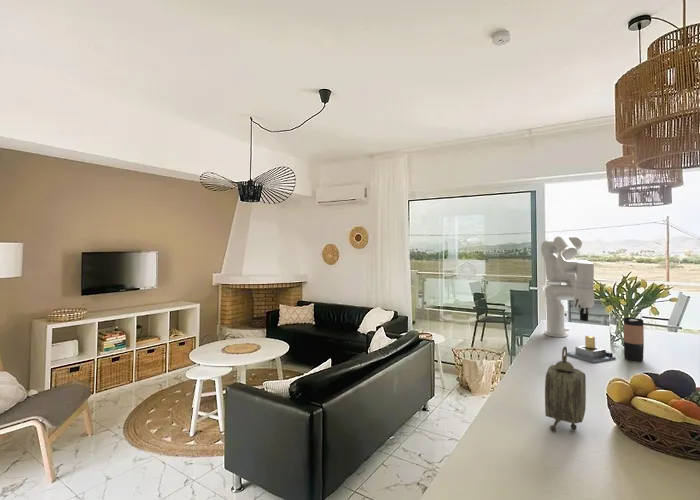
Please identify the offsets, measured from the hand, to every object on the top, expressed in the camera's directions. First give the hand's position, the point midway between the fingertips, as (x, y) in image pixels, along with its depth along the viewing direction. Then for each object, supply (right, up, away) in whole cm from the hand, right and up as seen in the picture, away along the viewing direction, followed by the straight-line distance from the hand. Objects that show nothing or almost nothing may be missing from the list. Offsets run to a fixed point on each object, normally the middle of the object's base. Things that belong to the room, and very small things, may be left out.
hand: (583, 320), depth 182 cm
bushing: (-1, -16, -6) cm, 17 cm away
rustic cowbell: (-55, -19, -74) cm, 94 cm away
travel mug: (+17, -17, -11) cm, 27 cm away
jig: (-1, -17, -6) cm, 18 cm away
